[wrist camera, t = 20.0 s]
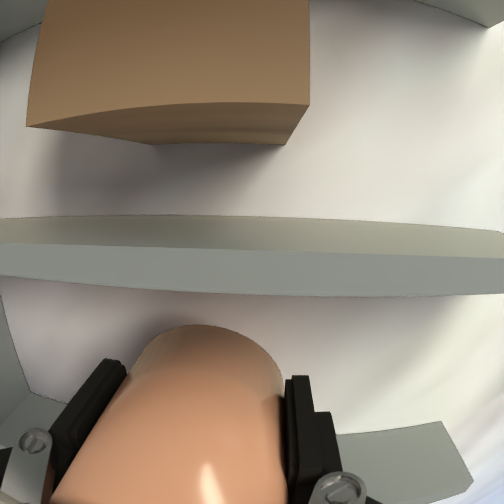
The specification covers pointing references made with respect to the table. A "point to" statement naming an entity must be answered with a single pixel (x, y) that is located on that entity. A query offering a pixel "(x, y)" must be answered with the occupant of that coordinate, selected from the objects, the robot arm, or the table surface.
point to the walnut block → (173, 70)
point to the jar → (188, 427)
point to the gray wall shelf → (261, 285)
